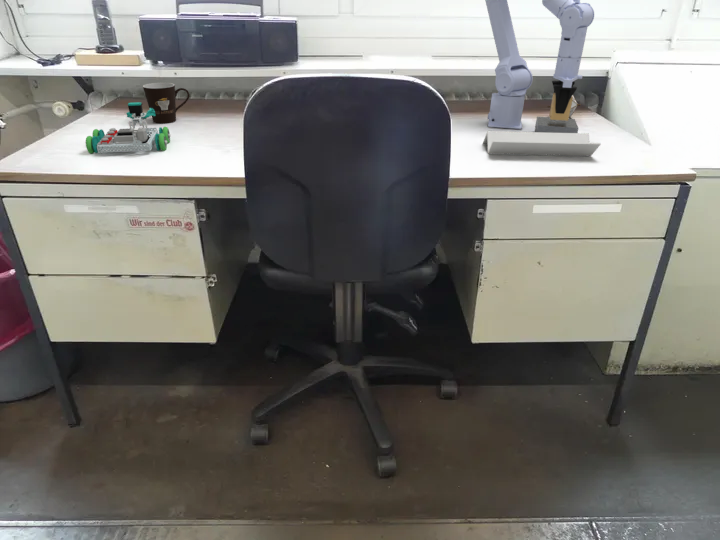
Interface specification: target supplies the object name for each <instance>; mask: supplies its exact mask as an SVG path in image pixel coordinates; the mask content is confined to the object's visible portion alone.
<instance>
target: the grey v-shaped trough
mask: <svg viewBox="0 0 720 540" xmlns="http://www.w3.org/2000/svg"><path fill="white" fill-rule="evenodd" d="M590 141H591V140H590V134H589V133H585V132H584V133H583V132H581V133H580V132H579V133H545V132H535V131H533V132H532V131H497V130H496V131H492V130H491V131H489V130H488V131H487V132H486V134H485V137H484V139H483V141H482V145H487V155H514V156H515V155H522V156H523V155H526V156H556V157H557V156H567V157H591V156H593V154H594V153H595V152H596V151H597V149H599V148H600V146H601V145H602V144H601V142H590Z"/></svg>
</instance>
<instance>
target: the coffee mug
mask: <svg viewBox="0 0 720 540" xmlns="http://www.w3.org/2000/svg"><path fill="white" fill-rule="evenodd" d="M142 89H143V92H144V96H145V99H146V102H147V105H148V109H149V108H153V109H154V111H155V115H156V116H151V119H152V122H153V124H157V125H158V124H159V125H160V124H161V125H163V124H171V123H172V124H173V123H175V122H176V121H177V111H178V110H180V109H181V108H182V107H183V106H184V105H186V104H187V102H188V100H189V99H190V93H189V90H187V89H186V88H184V87H180V88H177V89H176V83H175V84H174V83H172V82H152V83H151V82H150V83H146V84H143V85H142ZM180 91H185V93H186V95H187V96H186V99H185V100H184V101H183V102H182V103H180V104H179V105H178V106H177V107H176V97H177V95H178V93H179V92H180Z"/></svg>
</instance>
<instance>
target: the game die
mask: <svg viewBox="0 0 720 540" xmlns="http://www.w3.org/2000/svg"><path fill="white" fill-rule="evenodd" d="M572 96H573V100H572V104H571V109H570V114H569V119H572V115H573V114H574V112H575V111H576V110H577V108H578V107H580V106H582V105H581V103H578V102H577V100H576V98H575V96H574V94H573V95H572ZM547 108H550V109H551V104H550V105H548V106H547Z"/></svg>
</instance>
